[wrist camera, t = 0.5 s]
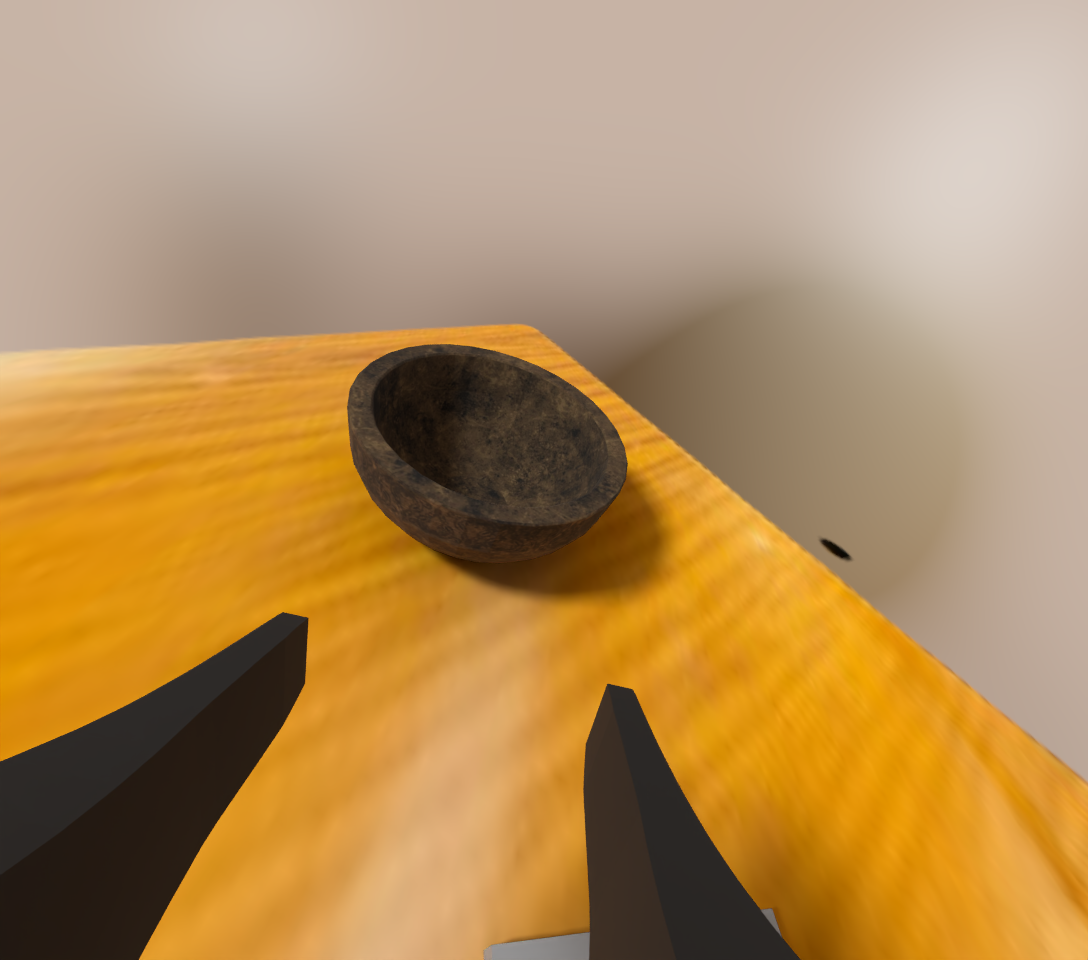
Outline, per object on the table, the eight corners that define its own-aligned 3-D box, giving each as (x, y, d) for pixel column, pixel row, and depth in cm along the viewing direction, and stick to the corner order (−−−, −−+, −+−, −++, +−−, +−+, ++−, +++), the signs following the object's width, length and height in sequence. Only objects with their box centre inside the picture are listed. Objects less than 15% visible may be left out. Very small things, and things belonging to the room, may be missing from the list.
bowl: (276, 534, 38) (274, 427, 32) (416, 404, 55) (433, 318, 49) (546, 661, 37) (598, 577, 31) (603, 489, 54) (644, 413, 48)
